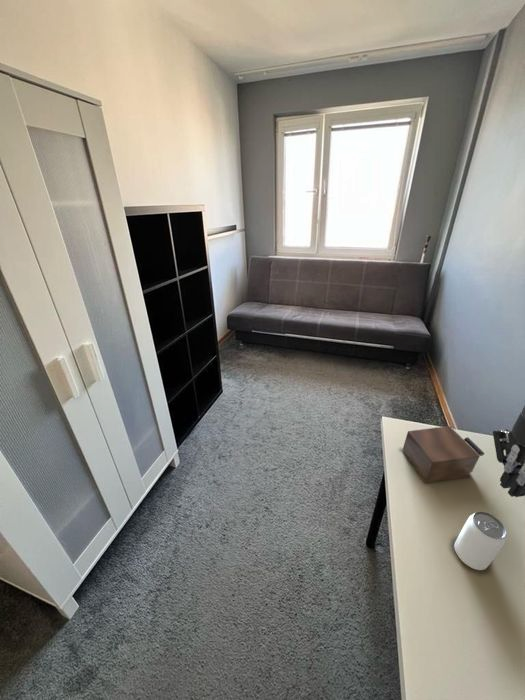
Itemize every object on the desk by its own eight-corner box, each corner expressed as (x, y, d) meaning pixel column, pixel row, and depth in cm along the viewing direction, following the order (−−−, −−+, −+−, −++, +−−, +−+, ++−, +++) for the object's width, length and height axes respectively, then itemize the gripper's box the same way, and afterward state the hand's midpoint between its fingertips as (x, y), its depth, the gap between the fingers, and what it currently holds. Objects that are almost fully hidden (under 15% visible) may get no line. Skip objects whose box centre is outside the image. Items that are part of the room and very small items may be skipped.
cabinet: (441, 445, 91) (449, 425, 87) (468, 476, 81) (478, 456, 76) (402, 450, 89) (407, 431, 85) (424, 482, 79) (432, 462, 75)
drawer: (459, 443, 90) (465, 427, 87) (485, 470, 81) (493, 454, 78) (410, 449, 89) (415, 433, 85) (431, 477, 80) (438, 461, 76)
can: (448, 538, 66) (463, 509, 61) (475, 539, 66) (494, 509, 60) (464, 570, 61) (483, 541, 55) (495, 571, 60) (517, 541, 55)
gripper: (627, 452, 38) (566, 524, 47) (532, 392, 50) (497, 458, 59) (579, 458, 38) (525, 530, 46) (494, 396, 50) (464, 462, 58)
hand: (509, 490), depth 52 cm, fingers closed
